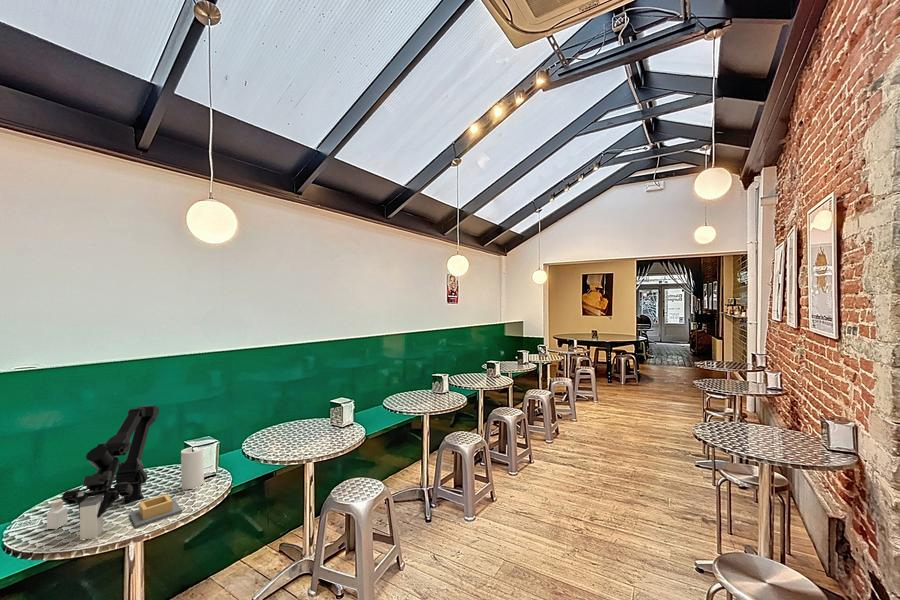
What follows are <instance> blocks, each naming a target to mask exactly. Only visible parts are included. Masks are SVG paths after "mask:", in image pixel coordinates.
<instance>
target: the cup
mask: <svg viewBox="0 0 900 600" xmlns="http://www.w3.org/2000/svg"><path fill="white" fill-rule="evenodd" d="M192 447H193V446H191V447H190V446H189V447H187V448H184V449H182V450H181V452H180V457H181V458H180V463H181V464H180V467H181V469H180V470H181V471H180V472H181V473H180V477H181V490H182V489H185V490H184V491H187V490H186V489H192V490H194V489H193V488H196V487H199V486H201V485H202V484H203V485H204V484H205V465H204V463H205V461H204V446H202V449H200V450H198V451H194V452H192ZM203 485H202V486H203ZM202 486H201V487H202ZM199 488H200V487H199ZM196 489H197V488H196Z"/></svg>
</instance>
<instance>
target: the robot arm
mask: <svg viewBox="0 0 900 600" xmlns="http://www.w3.org/2000/svg"><path fill="white" fill-rule="evenodd" d="M159 413H160V408H159V407H158V406H157V405H156V404H155V405H154V404H152V405H142V406H141V405H140V406H138V407H135V408H134V407H133V408H129V409H128V412H127V416H126V418H125V419H124V421H123V423H122V424H121V425H120V426H119V429H118V430H117V432H116V434H115V435H113V436H112V437H110V438H108V440H107V441H106V442H103V443H98V444H97V445H96V446H95V447H93V448H91V450H89V451H88V452H87V454H86V456H85V458H86V460H87V461H88V462H89V463H90V464H91V465H92V466H93V467H94V468H96V469H97V470H96V472H95V473H93V475H85V476H84V478H83V483H82V487H85V488H86V490H87V491H82V490H80V489H79V488H76V489H70V490H66V491H64V492H63V493H62V496H61V497H60V499H62V500H63V503H65V504H66V505H69V506H71V505H78V513H79V516H78V517H79V520H80V503H81V502H82V501H84V500H85V499H86V498H89V497H96V496H102V495H103V501H102V504H101V506H100V509H99V511H98V514H97V517H98V518H99V517H100V516H101V515H102V514H103V515H104V513H105V512H106V511H107V509H108V508H109V507H111V505H113V504H114V502H116V501H117V500H120V498H121V497H122V498H121V502H122V504H128V503H131V502H134V501H135V502H136V501H138V500H141V499H144V498H145V496H144V494H143V492H142V485H143V484H145V483H147V480H148V474H147V472H146V471H145V469H144V468H145V467H144V464H143V461H142V457H143V455H144V454H143V453H144V450H145V447H146V442H147V439H148V434H149V431H150V427H151V426H152V425H153V424H154V423H155V422H156V421H157V417H158V416H159V415H160V414H159ZM131 438H132V439H131ZM130 439H131V441H130ZM126 455H127V458H126V459H125V460H124V461H123V462H122V461H121V460H120V459H119V458H118V457H123V456H126ZM114 482H115V484H114V486H113V487H112V485H113V483H114ZM120 496H121V497H120Z"/></svg>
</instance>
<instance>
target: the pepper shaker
mask: <svg viewBox="0 0 900 600" xmlns="http://www.w3.org/2000/svg"><path fill="white" fill-rule="evenodd" d="M66 523H67V524H68V507H66V506H64V501H63V500H62V499H61V498H58V499H55V500H52V501H50V510H49V511H48V512H47V513H46V529H47V530H48V529H55V530H57V529H56V528H59V527H61V526H63V525H64V524H66ZM67 524H66V525H67ZM64 526H65V525H64ZM64 526H63V527H64ZM61 528H62V527H61ZM59 529H60V528H59Z"/></svg>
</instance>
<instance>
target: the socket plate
mask: <svg viewBox="0 0 900 600" xmlns="http://www.w3.org/2000/svg"><path fill="white" fill-rule="evenodd" d="M181 513H183V508H182V507H181V506H180V505H179V503H178V502H177V501H176V499H175V498H171V497H170V496H169V495H168V493H166V494H163V495H159V496H156V497H153V498H150V499H146V500H142V501H140V502H139V503H138V509H135V510H132V511H129V513H128V514H129V517H130V520H131V519H132V520H131V522H132V524H133V525H134V529H138V528H141V527H143V526H147V525H150V524H152V523H155V522H158V521H162V520H164V519H167V518H170V517H173V516H177V515H179V514H181Z"/></svg>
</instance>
